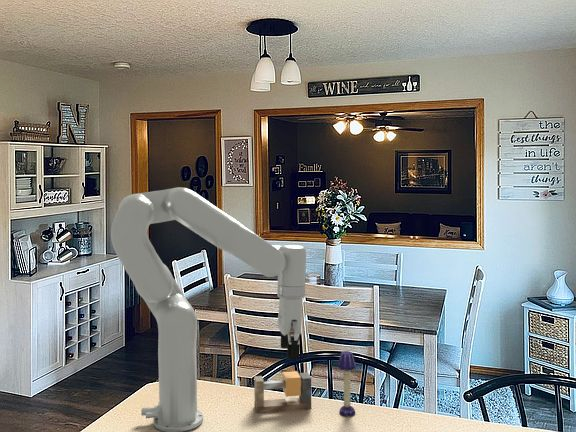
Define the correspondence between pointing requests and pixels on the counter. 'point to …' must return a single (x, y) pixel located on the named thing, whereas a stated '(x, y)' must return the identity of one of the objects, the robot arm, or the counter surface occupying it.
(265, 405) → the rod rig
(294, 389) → the sleeve
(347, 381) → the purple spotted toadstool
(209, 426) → the counter surface
